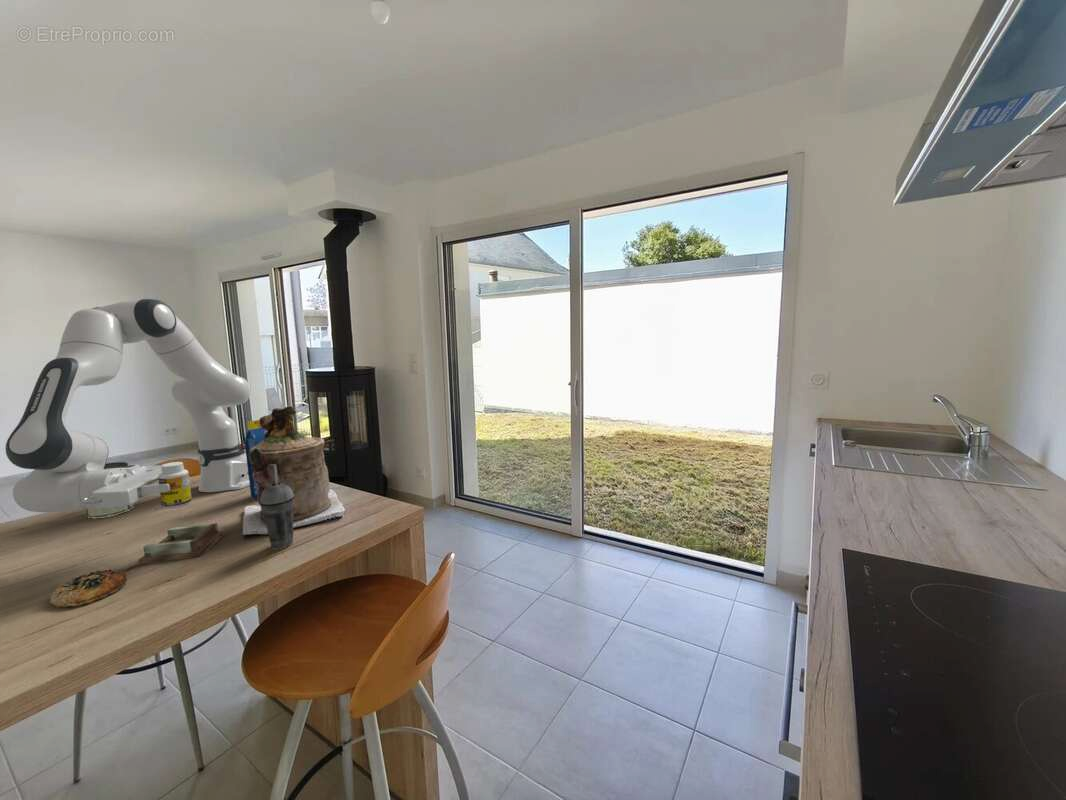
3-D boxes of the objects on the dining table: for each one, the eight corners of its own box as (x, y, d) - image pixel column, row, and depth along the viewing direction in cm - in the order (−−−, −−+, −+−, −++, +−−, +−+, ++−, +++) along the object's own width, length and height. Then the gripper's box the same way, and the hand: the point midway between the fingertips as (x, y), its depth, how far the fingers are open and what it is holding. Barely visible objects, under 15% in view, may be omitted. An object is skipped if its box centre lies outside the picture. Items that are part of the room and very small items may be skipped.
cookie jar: (334, 493, 141) (325, 396, 136) (347, 518, 120) (337, 405, 116) (244, 510, 128) (231, 404, 123) (241, 542, 107) (225, 416, 103)
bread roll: (139, 573, 94) (132, 553, 92) (111, 608, 84) (104, 586, 82) (73, 585, 90) (65, 565, 89) (36, 624, 80) (27, 602, 79)
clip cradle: (139, 563, 97) (136, 549, 97) (170, 540, 109) (168, 527, 109) (199, 556, 100) (197, 542, 100) (223, 534, 112) (222, 521, 111)
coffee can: (80, 516, 127) (72, 469, 125) (125, 503, 136) (118, 460, 134) (96, 522, 122) (87, 474, 120) (141, 508, 131) (134, 464, 129)
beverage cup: (260, 554, 100) (250, 471, 98) (270, 540, 107) (261, 463, 105) (295, 549, 102) (286, 468, 100) (302, 536, 109) (294, 460, 107)
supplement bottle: (155, 510, 100) (149, 467, 99) (174, 501, 106) (169, 461, 104) (180, 509, 100) (175, 467, 99) (197, 500, 106) (192, 460, 105)
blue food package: (298, 488, 147) (290, 416, 143) (262, 500, 136) (253, 422, 133) (286, 485, 149) (279, 414, 146) (250, 497, 139) (241, 421, 135)
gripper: (70, 489, 89) (149, 483, 92) (136, 462, 109) (199, 458, 112) (76, 518, 90) (153, 511, 93) (140, 486, 110) (202, 481, 113)
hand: (178, 482), depth 103 cm, fingers closed on supplement bottle, 5 cm apart
